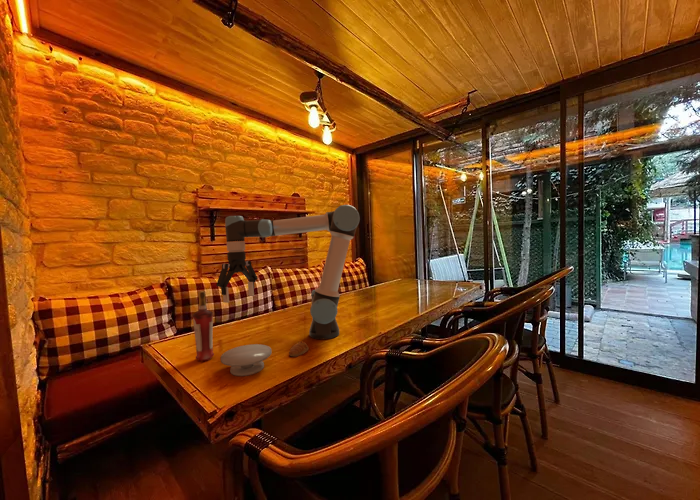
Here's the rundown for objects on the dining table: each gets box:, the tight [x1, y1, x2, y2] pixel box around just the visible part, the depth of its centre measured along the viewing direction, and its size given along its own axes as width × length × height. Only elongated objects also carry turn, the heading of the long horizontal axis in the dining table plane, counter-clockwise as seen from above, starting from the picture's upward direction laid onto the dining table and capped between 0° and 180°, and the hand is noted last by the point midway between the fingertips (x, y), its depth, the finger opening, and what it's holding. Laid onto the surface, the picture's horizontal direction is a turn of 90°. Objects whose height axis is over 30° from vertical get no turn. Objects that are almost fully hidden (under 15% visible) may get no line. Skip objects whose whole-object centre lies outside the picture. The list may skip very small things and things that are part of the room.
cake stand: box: [220, 343, 272, 377], centre depth 109 cm, size 18×18×6 cm
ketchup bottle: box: [192, 291, 215, 362], centre depth 119 cm, size 7×7×28 cm
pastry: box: [288, 341, 309, 357], centre depth 123 cm, size 9×7×4 cm
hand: (239, 299), depth 128 cm, fingers open, 13 cm apart
